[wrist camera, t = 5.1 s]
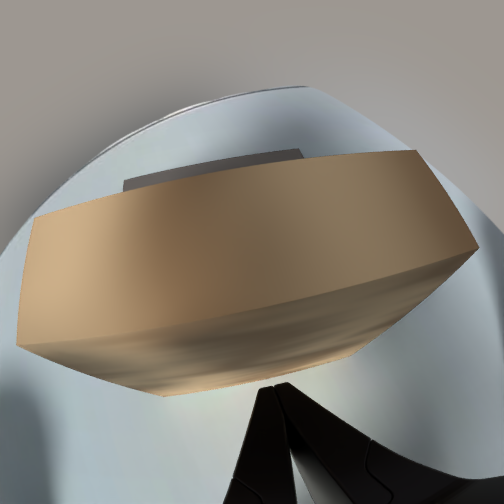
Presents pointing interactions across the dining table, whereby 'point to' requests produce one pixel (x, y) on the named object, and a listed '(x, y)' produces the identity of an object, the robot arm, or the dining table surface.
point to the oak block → (238, 270)
